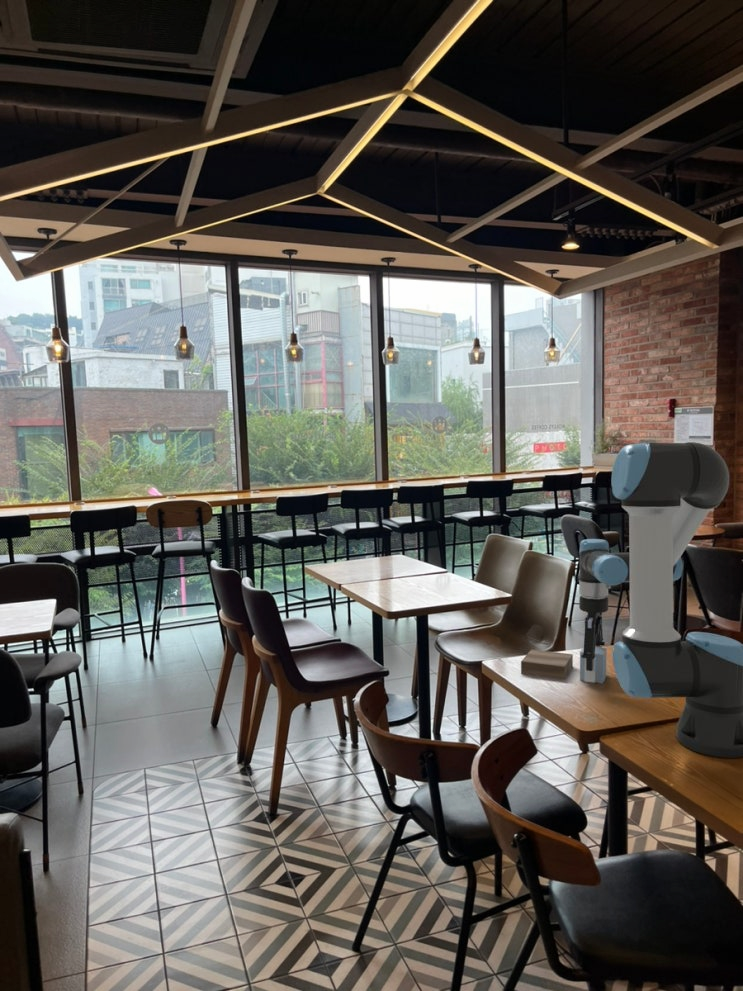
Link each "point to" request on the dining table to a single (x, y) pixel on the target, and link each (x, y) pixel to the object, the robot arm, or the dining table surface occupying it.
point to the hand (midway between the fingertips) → (593, 674)
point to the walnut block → (547, 664)
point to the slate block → (599, 664)
